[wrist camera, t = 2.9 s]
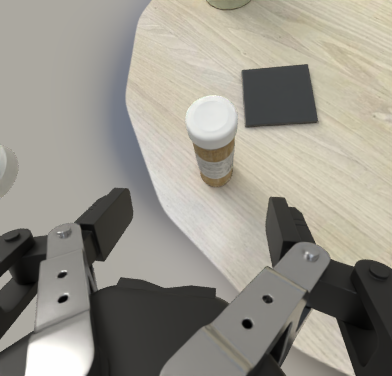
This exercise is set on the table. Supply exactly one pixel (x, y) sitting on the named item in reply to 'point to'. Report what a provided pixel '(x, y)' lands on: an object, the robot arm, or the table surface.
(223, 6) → the can
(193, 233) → the table surface
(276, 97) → the slate coaster
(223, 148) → the sprinkles bottle
